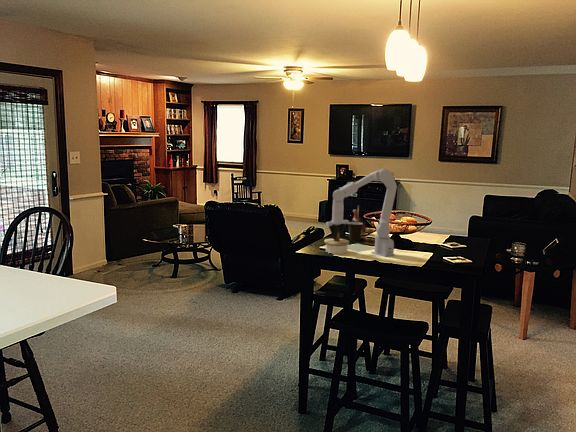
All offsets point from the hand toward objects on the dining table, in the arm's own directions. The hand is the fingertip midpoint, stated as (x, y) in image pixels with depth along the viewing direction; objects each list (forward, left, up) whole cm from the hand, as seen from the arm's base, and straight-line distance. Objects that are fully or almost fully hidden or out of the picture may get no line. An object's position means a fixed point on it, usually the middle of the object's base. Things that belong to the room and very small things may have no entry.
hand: (336, 238), depth 257 cm
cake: (+31, -47, -7) cm, 57 cm away
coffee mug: (+18, -33, -7) cm, 38 cm away
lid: (0, 0, -2) cm, 2 cm away
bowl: (0, 0, -7) cm, 7 cm away
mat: (+1, -17, -7) cm, 18 cm away
